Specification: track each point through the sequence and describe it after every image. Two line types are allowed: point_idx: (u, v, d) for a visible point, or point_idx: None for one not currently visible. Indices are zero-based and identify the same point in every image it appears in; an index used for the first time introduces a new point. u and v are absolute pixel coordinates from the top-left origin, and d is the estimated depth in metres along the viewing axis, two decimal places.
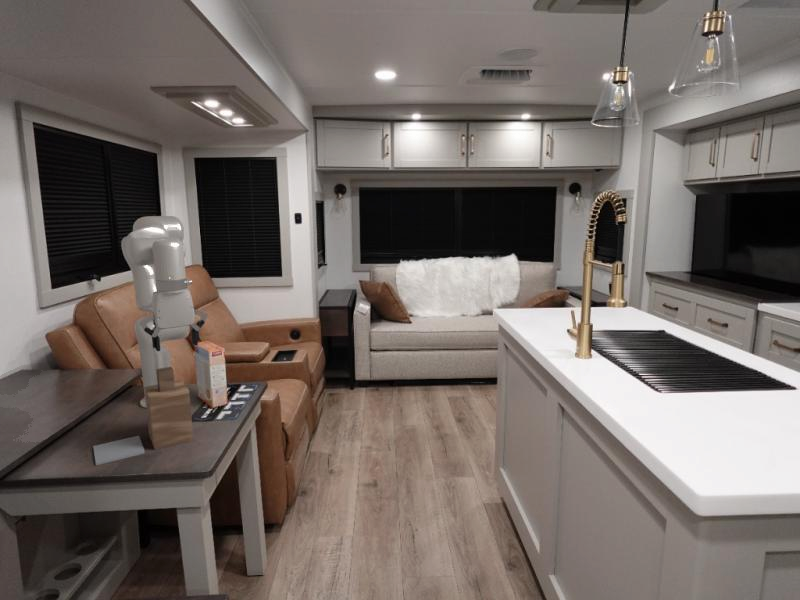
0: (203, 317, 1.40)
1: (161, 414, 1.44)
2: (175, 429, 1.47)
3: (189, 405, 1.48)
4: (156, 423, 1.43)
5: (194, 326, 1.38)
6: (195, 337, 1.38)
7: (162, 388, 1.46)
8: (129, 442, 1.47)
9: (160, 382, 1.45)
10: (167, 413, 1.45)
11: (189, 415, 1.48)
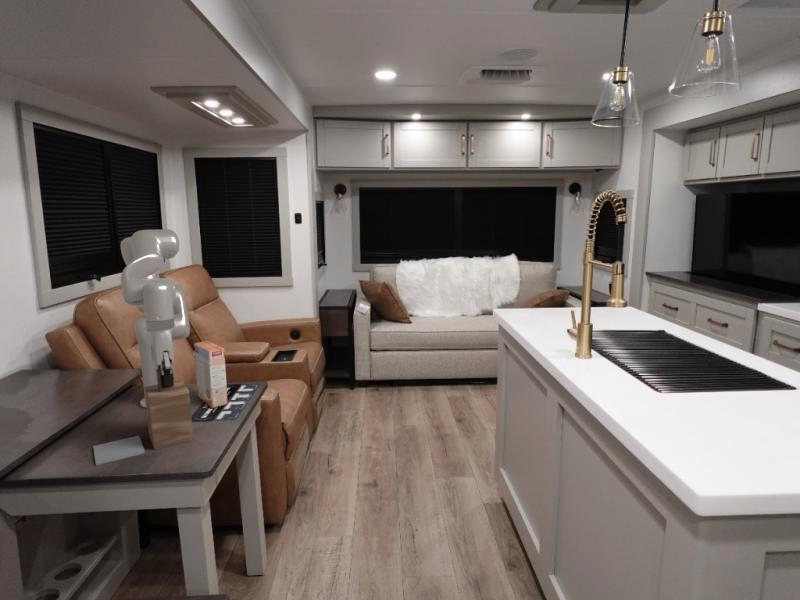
0: None
1: (161, 414, 1.44)
2: (175, 429, 1.47)
3: (189, 405, 1.48)
4: (156, 423, 1.43)
5: None
6: None
7: (162, 388, 1.46)
8: (129, 442, 1.47)
9: (160, 382, 1.45)
10: (167, 413, 1.45)
11: (189, 415, 1.48)
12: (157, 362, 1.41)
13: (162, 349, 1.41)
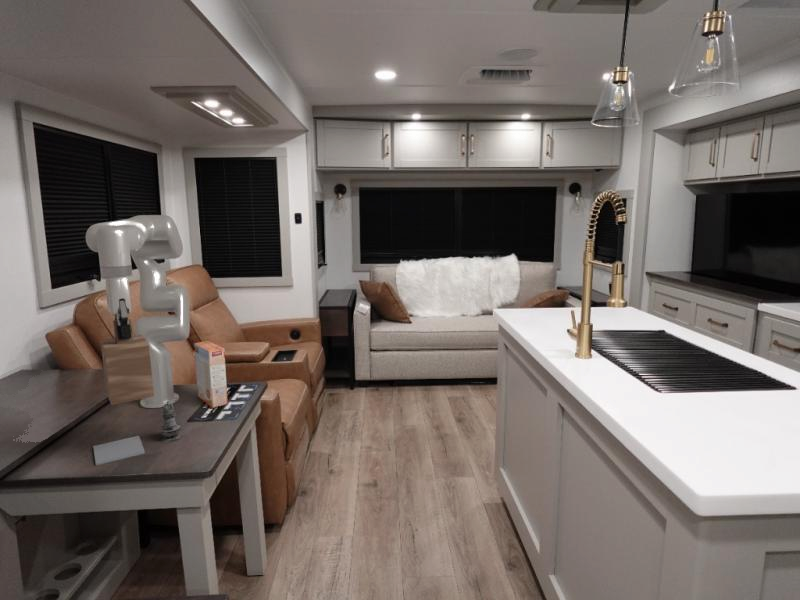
0: None
1: (118, 367, 1.35)
2: (133, 384, 1.38)
3: (149, 358, 1.40)
4: (112, 376, 1.35)
5: None
6: None
7: (120, 340, 1.38)
8: (129, 442, 1.47)
9: (117, 333, 1.37)
10: (124, 366, 1.36)
11: (149, 369, 1.40)
12: (113, 311, 1.33)
13: (118, 297, 1.33)
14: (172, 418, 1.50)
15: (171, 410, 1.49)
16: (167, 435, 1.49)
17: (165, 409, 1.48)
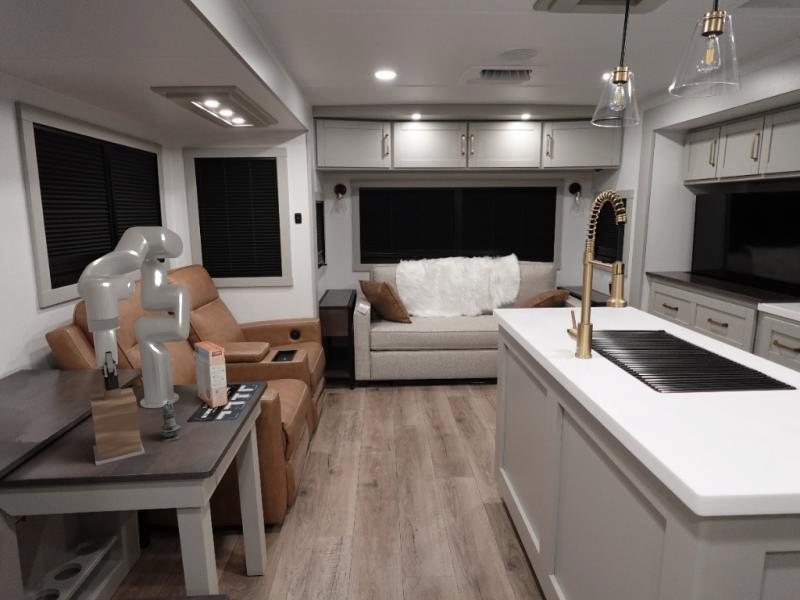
0: None
1: (105, 424, 1.36)
2: (121, 439, 1.39)
3: (136, 414, 1.40)
4: (100, 433, 1.36)
5: None
6: None
7: (108, 396, 1.38)
8: None
9: (105, 390, 1.38)
10: (112, 423, 1.37)
11: (136, 424, 1.41)
12: (99, 363, 1.33)
13: (104, 350, 1.33)
14: (172, 418, 1.50)
15: (171, 410, 1.49)
16: (167, 435, 1.49)
17: (165, 409, 1.48)
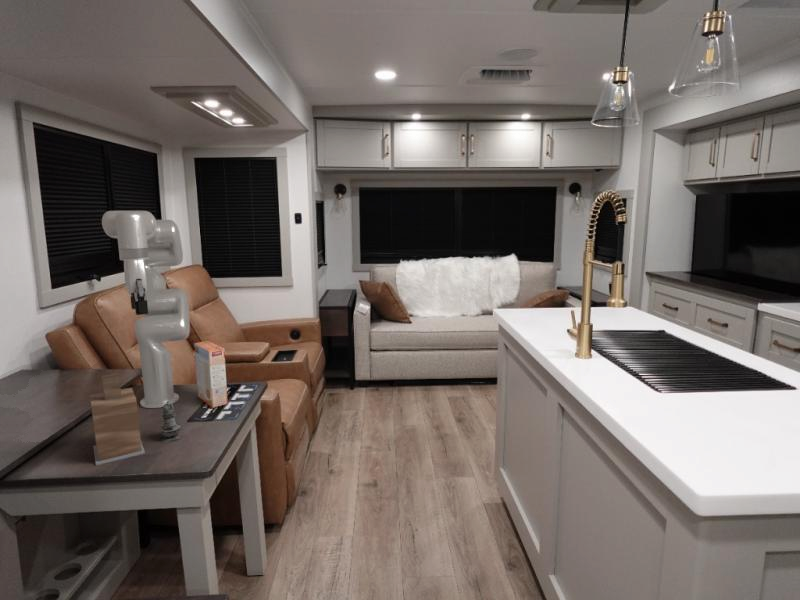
0: None
1: (105, 424, 1.36)
2: (121, 439, 1.39)
3: (136, 414, 1.40)
4: (100, 433, 1.36)
5: None
6: None
7: (108, 396, 1.38)
8: None
9: (105, 390, 1.38)
10: (112, 423, 1.37)
11: (136, 424, 1.41)
12: (130, 290, 1.43)
13: (135, 277, 1.43)
14: (172, 418, 1.50)
15: (171, 410, 1.49)
16: (167, 435, 1.49)
17: (165, 409, 1.48)
